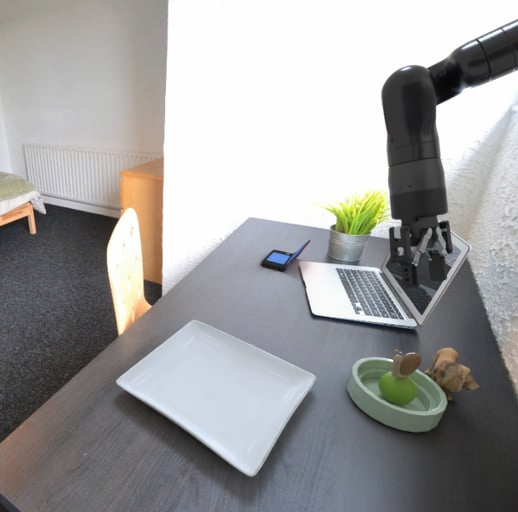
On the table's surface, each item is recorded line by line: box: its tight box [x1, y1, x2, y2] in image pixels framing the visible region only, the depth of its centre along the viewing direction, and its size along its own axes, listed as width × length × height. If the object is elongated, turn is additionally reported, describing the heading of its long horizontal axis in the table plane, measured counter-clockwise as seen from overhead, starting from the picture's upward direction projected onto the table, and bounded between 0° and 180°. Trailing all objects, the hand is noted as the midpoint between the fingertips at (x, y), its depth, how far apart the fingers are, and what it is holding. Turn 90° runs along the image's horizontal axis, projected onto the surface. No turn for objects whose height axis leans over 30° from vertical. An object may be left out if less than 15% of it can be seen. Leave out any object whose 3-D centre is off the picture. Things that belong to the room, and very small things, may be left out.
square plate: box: [115, 319, 317, 478], centre depth 69 cm, size 27×27×4 cm
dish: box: [346, 356, 448, 433], centre depth 66 cm, size 14×14×4 cm
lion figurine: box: [423, 347, 480, 401], centre depth 68 cm, size 15×5×9 cm, turn 150°
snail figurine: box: [379, 349, 422, 404], centre depth 64 cm, size 5×6×12 cm
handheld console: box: [260, 239, 311, 272], centre depth 115 cm, size 12×11×7 cm
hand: (425, 283), depth 63 cm, fingers open, 8 cm apart
